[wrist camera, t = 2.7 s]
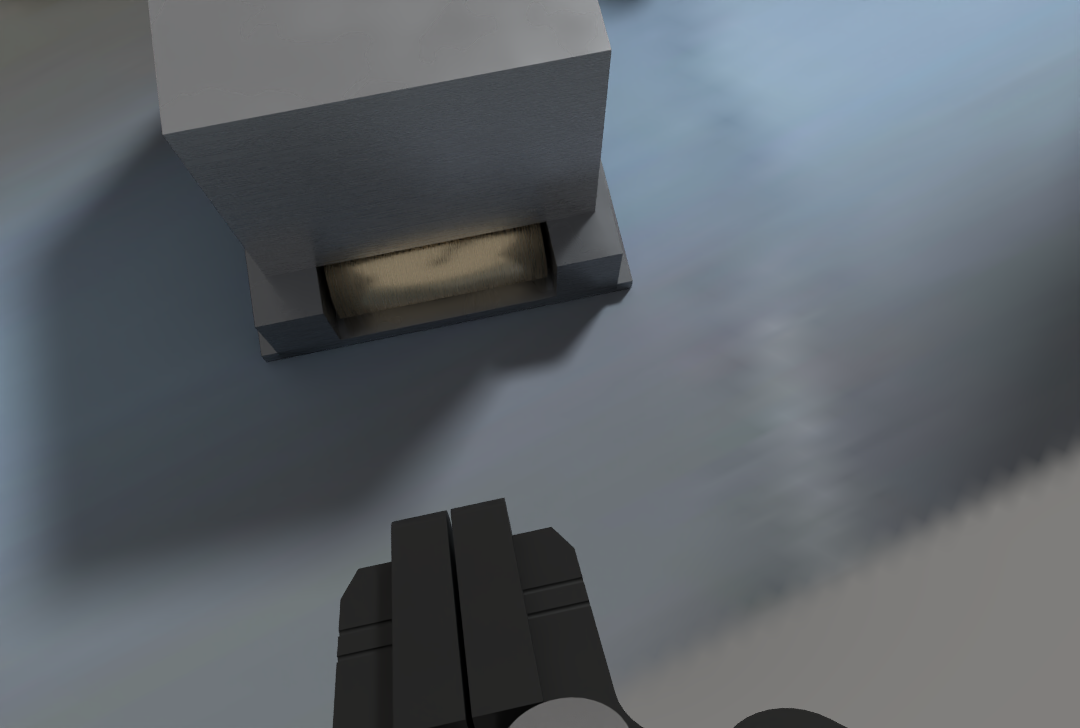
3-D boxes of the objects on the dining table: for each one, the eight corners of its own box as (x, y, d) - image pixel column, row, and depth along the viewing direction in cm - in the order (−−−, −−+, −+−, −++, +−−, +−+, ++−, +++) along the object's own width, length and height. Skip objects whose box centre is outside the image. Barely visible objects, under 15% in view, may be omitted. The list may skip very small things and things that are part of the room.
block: (595, 211, 29) (611, 49, 21) (265, 277, 29) (162, 134, 21) (521, -79, 32) (512, -310, 25) (224, -26, 32) (121, -244, 24)
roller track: (631, 287, 32) (639, 249, 29) (266, 361, 31) (238, 330, 28) (501, -210, 38) (497, -281, 35) (197, -157, 37) (167, -226, 34)
